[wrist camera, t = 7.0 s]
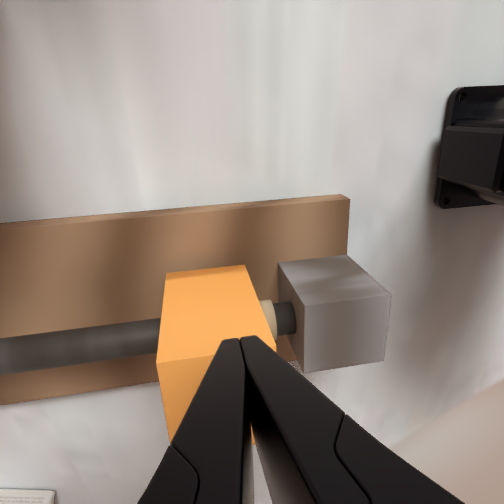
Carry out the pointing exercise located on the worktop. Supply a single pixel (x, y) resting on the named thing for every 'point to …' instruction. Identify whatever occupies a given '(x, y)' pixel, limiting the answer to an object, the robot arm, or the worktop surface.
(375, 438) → the robot arm
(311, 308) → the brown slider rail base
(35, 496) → the supplement box
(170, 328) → the sleeve
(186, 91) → the worktop surface
